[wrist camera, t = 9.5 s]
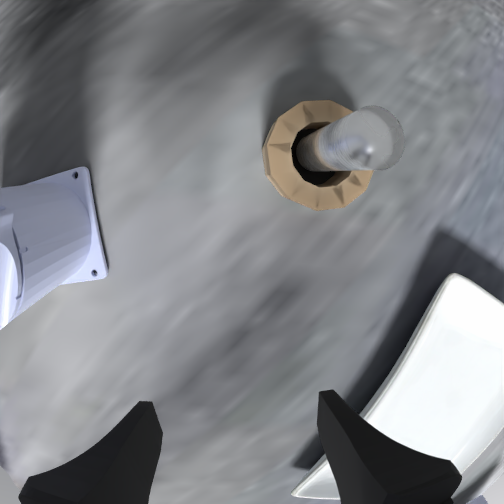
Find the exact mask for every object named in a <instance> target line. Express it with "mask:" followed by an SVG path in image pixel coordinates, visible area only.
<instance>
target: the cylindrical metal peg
mask: <svg viewBox="0 0 504 504" xmlns="http://www.w3.org/2000/svg"><path fill="white" fill-rule="evenodd" d="M404 148H405V136H404V132H403V129H402V126H401V124H400V123H399V121H398V120H397V118H396V117H395V116H394V115H393V114H392V113H391V112H389V111H388V110H386V109H384V108H382V107H378V106H366V107H363V108H361V109H359V110H357V111H355V112H353V113H351V114H348V115H346V116H344V117H342V118H340V119H338V120H336V121H334V122H332V123H330V124H329V125H327V126H325V127H323V128H321V129H319V130H317V131H315V132H313V133H311V134H309V135H307V136H305V137H304V138H303V139H301V141H300V142H299V143H298V146H297V149H296V155H297V159H298V161H299V163H300V164H301V165H302V166H303V167H304V168H305V169H307V170H309V171H314V172H318V171H351V170H386V169H389V168H391V167H393V166H394V165H395V164H396V163H397V162H398V161H399V160H400V158H401V157H402V155H403V152H404Z"/></svg>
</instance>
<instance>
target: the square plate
mask: <svg viewBox="0 0 504 504" xmlns="http://www.w3.org/2000/svg"><path fill="white" fill-rule="evenodd" d="M359 415H360V416H361V417H362V418H363V419H364V420H366V421H367V422H368V423H369V424H371V425H372V426H373V427H374V428H376V429H377V430H379V431H380V432H382V433H383V434H385V435H386V436H388V437H389V438H391V439H393V440H395V441H396V442H398V443H400V444H402V445H405V446H407V447H409V448H411V449H414V450H416V451H419V452H421V453H424V454H427V455H430V456H434V457H438V458H442V459H447V460H451V462H452V463H453V464H454V465H455V466H456V468H457V469H458V471H459V473H460V474H462V473H463V472H464V471H465V470H466V469H467V468H468V467H469V466H470V465H471V464H472V463H473V462H474V461H475V460H476V459H477V458H478V457H479V456H480V454H481V453H482V452H483V451H484V450H485V449H486V448H487V447H488V446H489V444H490V443H491V442H492V441H493V440H494V439H495V437H496V436H497V435H498V434H499V432H500V431H501V430H502V429H503V427H504V303H502V302H501V301H500V300H498V299H497V298H495V297H494V296H493V295H491V294H490V293H489V292H487V291H486V290H484V289H483V288H482V287H480V286H479V285H477V284H476V283H474V282H473V281H471V280H470V279H468V278H466V277H464V276H462V275H460V274H457V273H452V274H449V275H448V276H447V277H446V278H445V280H444V281H443V283H442V284H441V285H440V287H439V288H438V290H437V292H436V294H435V295H434V297H433V299H432V301H431V302H430V304H429V306H428V307H427V309H426V311H425V313H424V315H423V316H422V318H421V320H420V322H419V323H418V325H417V327H416V329H415V331H414V333H413V334H412V336H411V338H410V340H409V342H408V343H407V345H406V347H405V349H404V351H403V352H402V354H401V355H400V357H399V359H398V360H397V362H396V364H395V365H394V367H393V368H392V370H391V371H390V373H389V374H388V376H387V377H386V379H385V380H384V382H383V383H382V385H381V386H380V388H379V389H378V390H377V392H376V393H375V395H374V396H373V397H372V399H371V400H370V401H369V403H368V404H367V405H366V407H365V408H364V409H363V411H362V412H361V413H360V414H359ZM291 494H292V495H293V496H296V497H302V498H317V499H340V496H339V492H338V488H337V484H336V481H335V478H334V476H333V473H332V470H331V468H330V465H329V462H328V460H327V457H326V455H325V454H324V455H323V456H322V457H321V458H320V459H319V461H318V462H317V463H316V464H315V465H314V466H313V467H312V468H311V469H310V470H309V472H308V473H307V474H306V475H305V476H304V477H303V479H302V480H301V481H300V482H299V484H298V485H297V486H296V487H295V488H294V489H293V490H292V492H291Z"/></svg>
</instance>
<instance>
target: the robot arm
mask: <svg viewBox="0 0 504 504" xmlns="http://www.w3.org/2000/svg"><path fill="white" fill-rule="evenodd" d="M76 172H77V173H78V178H77V179H76V178H75V173H76ZM93 270H96V271H97V273H98V275H95V274H94V272H93ZM107 275H108V268H107V264H106V259H105V255H104V251H103V246H102V242H101V237H100V232H99V227H98V222H97V217H96V211H95V206H94V200H93V194H92V187H91V181H90V173H89V170H88V168H87V167H78V168H74V169H71V170H68V171H64V172H61V173H58V174H55V175H52V176H49V177H46V178H43V179H40V180H37V181H34V182H31V183H28V184H25V185H21V186H12V187H4V188H0V330H1V329H2V328H3V327H4V326H6V325H7V324H8V323H9V322H10V321H12V320H13V319H14V318H16V317H17V316H18V315H19V314H21V313H22V312H23V311H25V310H26V309H27V308H29V307H30V306H31V305H33V304H34V303H35V302H37V301H38V300H39V299H41V298H42V297H43V296H45V295H46V294H48V293H49V292H50V291H52V290H53V289H54V288H56V287H57V286H59V285H61V284H69V283H76V282H83V281H90V280H97V279H103V278H105V277H106V276H107ZM317 426H318V431H319V436H320V440H321V444H322V446H323V449H324V452H325V455H326V457H327V460H328V462H329V465H330V468H331V470H332V473H333V476H334V478H335V481H336V484H337V488H338V492H339V496H340V500H341V504H453V501H452V499H451V496H452V495H453V493H454V492H455V491H456V489H457V488H458V486H459V485H460V483H461V480H462V476H461V474H460V473H459V471H458V469H457V468H456V466H455V465H454V464H453V463H452V462H451V460H447V459H442V458H438V457H434V456H430V455H427V454H424V453H421V452H419V451H416V450H414V449H411V448H409V447H407V446H405V445H402V444H400V443H398V442H396V441H395V440H393V439H391V438H389V437H388V436H386V435H385V434H383V433H382V432H380V431H379V430H377V429H376V428H374V427H373V426H372V425H371V424H369V423H368V422H367V421H366V420H364V419H363V418H362V417H361V416H360V415H359V414H357V413H356V412H355V411H354V410H353V409H352V408H351V407H350V406H349V405H348V404H347V403H346V402H345V401H344V400H343V399H342V398H341V397H340V396H339V395H338V394H337V393H336V392H335V391H334V390H326V391H320V392H319V401H318V416H317ZM162 436H163V432H162V429H161V426H160V424H159V421H158V418H157V415H156V412H155V409H154V406H153V403H152V402H147V401H139V402H138V403H137V404H136V405H135V406H134V407H133V408H132V409H131V411H130V412H129V413H128V414H127V415H126V416H125V417H124V418H123V419H122V420H121V421H120V422H119V423H118V424H117V425H116V426H115V427H114V428H113V429H112V430H111V431H110V432H109V433H108V434H107V435H106V436H105V437H103V438H102V439H101V440H100V441H99V442H98V443H96V444H95V445H94V446H93V447H91V448H90V449H88V450H87V451H86V452H84V453H83V454H81V455H79V456H78V457H76V458H74V459H73V460H71V461H69V462H67V463H65V464H63V465H61V466H59V467H57V468H55V469H52V470H50V471H47V472H44V473H41V474H38V475H34V476H31V477H29V478H28V479H27V481H26V483H25V485H24V487H23V488H22V490H21V493H20V494H19V500H20V502H21V504H148V501H149V494H150V490H151V486H152V482H153V478H154V474H155V471H156V467H157V463H158V460H159V456H160V452H161V445H162ZM466 504H488V503H487V501H486V500H485V498H484V497H483V495H480V496H479V497H477V498H475V499H473V500H472V501H470V502H468V503H466Z"/></svg>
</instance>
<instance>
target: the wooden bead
mask: <svg viewBox="0 0 504 504" xmlns="http://www.w3.org/2000/svg"><path fill="white" fill-rule="evenodd" d="M351 113H353V111H351V110H349V109H347V108H345V107H343V106H341V105H339V104H337V103H335V102H333V101H331V100H317V101H302V102H300V103H299V104H297V105H296V106H294V107H293V108H291V109H290V110H288V111H287V112H285V113H284V114H283V115H281V116H280V117H278V119H277V120H276V121H275V122H274V124H273V125H272V127H271V129H270V131H269V134H268V136H267V138H266V141H265V143H264V145H263V148H262V153H263V161H264V168H265V175H266V176H267V178H268V179H269V180H270V182H271V183H272V184H273V185H274V187H275V188H276V189H277V191H278V192H279V193H280V195H281V196H283V197H285V198H288V199H290V200H292V201H295V202H297V203H299V204H302V205H304V206H306V207H309V208H311V209H313V210H316V211H319V210H327V209H335V208H344V207H345V206H347V205H348V204H349V203H351V202H352V201H353V200H354V199H356V198H357V197H358V196H359V195H361V194H362V193H363V192H365V191H366V189H367V186H368V184H369V181H370V179H371V176H372V173H373V171H374V170H351V171H335V174H334V176H333V177H331V178H330V179H329V180H327V181H326V182H325V183H323V184H321V185H313V184H311V183H309V182H306V181H304V180H303V178H302V177H301V176H300V174H299V173H298V172H297V170H296V169H295V168H294V166H293V161H292V153H291V146H292V144H293V142H294V139H295V137H296V134H297V132H298V131H300V130H303V129H317V130H319V129H321V128H323V127H325V126H327V125H329V124H330V123H332V122H334V121H336V120H338V119H340V118H342V117H344V116H346V115H348V114H351Z"/></svg>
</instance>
